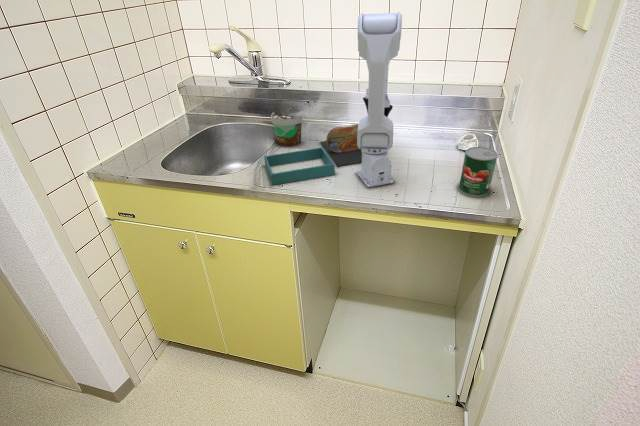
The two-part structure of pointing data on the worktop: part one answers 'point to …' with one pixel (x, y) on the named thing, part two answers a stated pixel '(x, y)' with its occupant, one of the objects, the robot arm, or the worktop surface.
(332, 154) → the mat
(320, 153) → the crate
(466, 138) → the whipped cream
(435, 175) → the worktop surface
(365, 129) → the robot arm
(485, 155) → the canned tomato
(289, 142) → the food container
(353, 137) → the tin
